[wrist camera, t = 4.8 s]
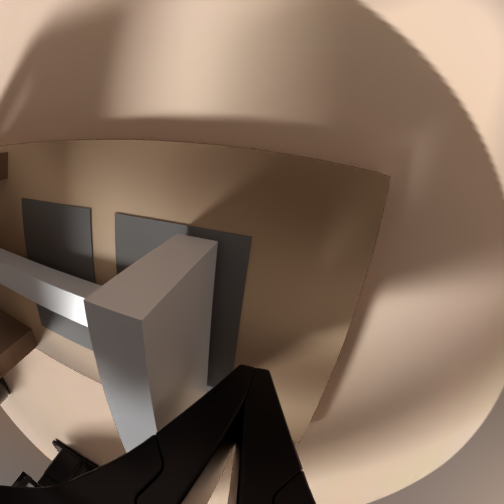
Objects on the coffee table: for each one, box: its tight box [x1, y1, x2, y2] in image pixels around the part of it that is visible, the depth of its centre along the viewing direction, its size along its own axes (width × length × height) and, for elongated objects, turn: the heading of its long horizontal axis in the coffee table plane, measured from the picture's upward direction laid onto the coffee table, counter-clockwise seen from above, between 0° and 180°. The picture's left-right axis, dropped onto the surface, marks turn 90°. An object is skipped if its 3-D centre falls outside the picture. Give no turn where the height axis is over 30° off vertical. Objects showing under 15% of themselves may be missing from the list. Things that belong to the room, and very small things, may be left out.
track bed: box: [0, 139, 390, 443], centre depth 11 cm, size 11×26×1 cm, turn 82°
